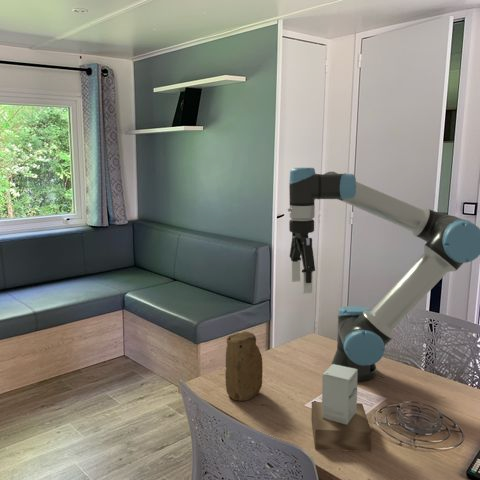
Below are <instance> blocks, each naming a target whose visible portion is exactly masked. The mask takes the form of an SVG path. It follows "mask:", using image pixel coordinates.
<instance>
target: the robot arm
mask: <svg viewBox="0 0 480 480" xmlns="http://www.w3.org/2000/svg"><path fill="white" fill-rule="evenodd" d="M288 184H289V186H288V187H289V208H287V212H289V218H290V219H289V226H288V227H289V232H290V233H291V234H292V235H291V236H292V237H291V244H290V252H289V258H290V261H291V272H290V273H291V274H290V275H291V276H290V277H291V282H292V283H293V282H295V283H296V282H301V273H302V294H312V293H313V272H315V271H316V266H315V258H314V257H315V256H314V250H313V238H312V237H309V233H310V234H312V233H314V232H315V220H314V218H315V216H316V214H315V213H316V211H315V209H316V207H315V201H316V200H338V201H341V202H343V203H346V204H348V205H350V206H353V207H355V208H357V209H359V210H362V211H365V212H366V213H369V214H371V215H373V216H377V217H378V218H381V219H383V220H386V221H387V222H390V223H393V224H395V225H396V226H399V227H401V228H404V229H406V230H409V231H410V232H412V234H413V236H414V237H416V238H419V239H421V240H423V241H425V242H426V243H425V244H423V251H424V252H423V254H422V255H421V256H420V257H418V259H417V261H416V262H415V263H413V265H412V266H411V267H410V268H409V269H408V270H407V271H406V273H404V275H402V276H401V278H399V280H398V281H397V282H396V283H395V284H394V285H393V286H392V287H391V288H390V290H388V292H387V293H385V295H384V296H383V297H382V298H381V300H379V301H378V302H377V304H376V305H375V306H374V307H373V308H371V307H370V308H369V307H367V306H358V305H348V306H347V305H346V306H342V307H340V308H339V309H338V310H337V311H338V313H337V341H336V342H337V343H336V346H337V347H336V351H335V354H334V356H333V358H332V361H331V365H332V364H335V365H340V366H345V367H350V368H354V369H358V375H357V382H366V381H370V380H373V379H374V378H375V377H376V376H377V366H376V365H377V364H376V363H378V362H380V361H381V359H382V358H383V357H384V354H385V350H386V346H387V345H388V343H390V342H391V340H392V339H394V334H393V332H394V329H395V328H396V327H397V326H399V324H400V323H401V322H402V321H403V320H404V319H406V317H407V316H408V315H409V313H411V311H412V310H413V309H414V308H415V307H416V306H417V305H418V304H419V303H420V302H421V301H422V300H423V298H425V297H426V296H427V294H428V293H429V292H430V291H431V290H432V289H433V288H434V287H435V286H436V285H437V284H438V283H439V282H440V280H442V278H443V277H444V276H445V275H446V274H447V273H451V272H457V271H458V270H459V268H461V267H462V265H463V264H466V263H470V262H472V261H475V260H476V259H478V257H479V256H480V227H478V226H477V225H476V224H475V223H473V222H471V221H470V220H468V219H464V218H461V217H457V216H455V215H450V214H445V213H441V212H438V211H435V210H432V209H431V208H428V207H427V208H424V209H422V208H419V207H417V206H414V205H413V204H410V203H408V202H405V201H403V200H401V199H398V198H396V197H394V196H391V195H388V194H387V193H384V192H382V191H379V190H378V189H374V188H372V187H370V186H367V185H365V184H364V183H361V182H358V181H357V179H356V176H355V174H354V173H337V172H335V171H327V172H325V173H323V174H322V173H316V170H315V167H293V168H291V169H290V170H289V183H288ZM301 261H302V267H303V269H302V270H301Z"/></svg>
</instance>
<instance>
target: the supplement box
mask: <svg viewBox="0 0 480 480" xmlns="http://www.w3.org/2000/svg"><path fill="white" fill-rule="evenodd" d="M357 375H358V369H354V368H350V367H345V366H340V365H335V364H332V363H331V365H330V366H329V367H328V368H327V369H326V370H325V371H324V372H323V373H322V381H321V382H322V384H321V385H322V388H321V389H322V391H321V393H322V394H321V398H322V399H321V402H322V418H325V419H328V420H332V421H335V422H339V423H342V424H346V425H348V423H349V422H350V420H351V418H352V417H353V416H354V414H355V413H356V410H357V403H358V399H357V398H358V381H357Z"/></svg>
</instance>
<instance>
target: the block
mask: <svg viewBox="0 0 480 480" xmlns="http://www.w3.org/2000/svg"><path fill="white" fill-rule="evenodd" d="M226 344H227V345H226V350H225V372H224V373H225V375H224V376H225V388H226V393H227V394H228V396H229V397H230V398H231V399H232V400H233V401H238V402H239V401H240V402H241V401H243V402H244V401H249V400H251V399H252V398H254V397H256V396H257V395H259V392H260V390H261V388H262V387H263V371H264V370H263V366H264V365H263V355H262V353H261V351H260V348H259V346H258V345H257V337H256V335H255V334H254V333H253V332H250V331H249V332H248V331H242V332H236V333H233V334H231V335H228V336H227V338H226Z"/></svg>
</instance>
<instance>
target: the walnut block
mask: <svg viewBox="0 0 480 480" xmlns="http://www.w3.org/2000/svg"><path fill="white" fill-rule="evenodd" d="M311 428H312V434H313V435H312V436H313V445H314V450H323V451H326V450H327V451H344V450H348V451H349V452H371V450H372V449H371V448H372V429H371V426H370V423H369V418H367V414H366V411H365V408H364V404H363V403H360V402H357V410H356V413H355V414H354V416H353V417H352V418H351V420H350V422H349V423H348V425H346V424H342V423H339V422H335V421H332V420H328V419H325V418H322V401H311ZM348 451H347V452H348Z"/></svg>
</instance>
